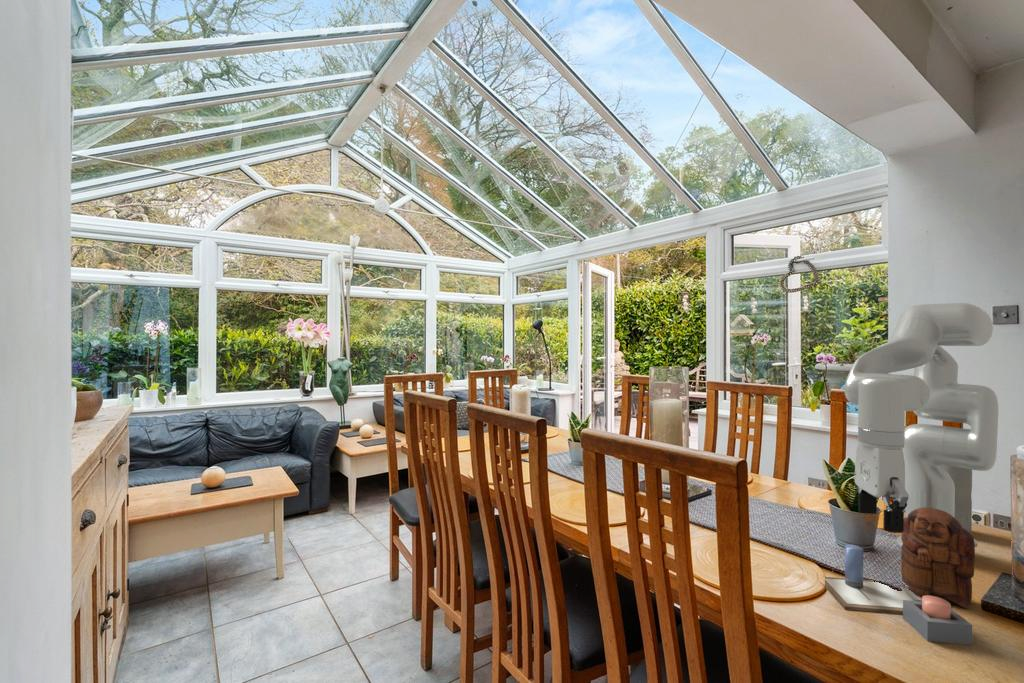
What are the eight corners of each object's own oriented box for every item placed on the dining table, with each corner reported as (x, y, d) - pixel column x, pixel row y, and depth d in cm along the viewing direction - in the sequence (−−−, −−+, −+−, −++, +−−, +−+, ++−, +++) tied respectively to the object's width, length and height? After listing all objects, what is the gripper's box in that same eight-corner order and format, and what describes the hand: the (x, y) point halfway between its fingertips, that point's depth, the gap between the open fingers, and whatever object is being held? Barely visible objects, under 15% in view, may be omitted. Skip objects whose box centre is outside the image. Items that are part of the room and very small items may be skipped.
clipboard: (897, 584, 106) (897, 579, 106) (935, 616, 94) (935, 610, 94) (817, 579, 109) (817, 573, 109) (844, 609, 97) (844, 603, 97)
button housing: (944, 621, 93) (944, 603, 92) (972, 644, 86) (972, 625, 86) (902, 617, 94) (902, 600, 94) (927, 640, 87) (927, 621, 87)
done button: (940, 614, 91) (940, 596, 91) (956, 627, 87) (956, 608, 87) (916, 612, 92) (916, 594, 92) (931, 625, 88) (931, 606, 88)
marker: (858, 581, 106) (858, 545, 106) (866, 589, 103) (866, 551, 103) (842, 580, 107) (842, 544, 106) (849, 587, 103) (849, 550, 103)
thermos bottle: (958, 526, 137) (959, 427, 137) (979, 538, 129) (980, 433, 129) (925, 524, 139) (926, 426, 138) (944, 535, 131) (945, 432, 130)
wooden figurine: (897, 590, 104) (898, 506, 103) (901, 579, 108) (902, 499, 108) (973, 613, 95) (974, 522, 95) (975, 600, 100) (976, 513, 99)
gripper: (840, 429, 108) (839, 505, 108) (883, 446, 91) (882, 537, 91) (878, 430, 107) (877, 508, 107) (929, 448, 90) (928, 540, 90)
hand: (879, 521), depth 99 cm, fingers open, 9 cm apart
